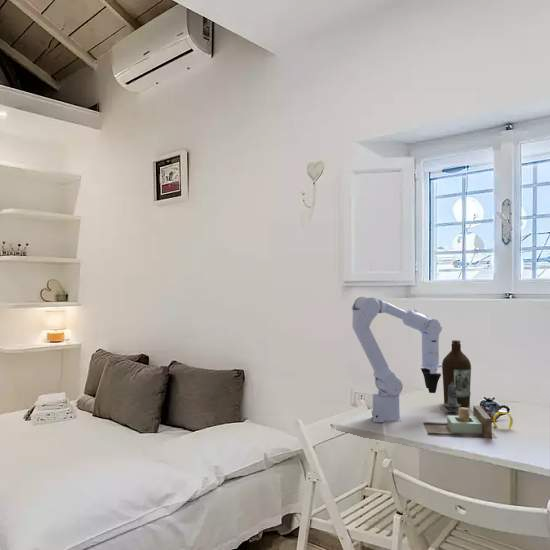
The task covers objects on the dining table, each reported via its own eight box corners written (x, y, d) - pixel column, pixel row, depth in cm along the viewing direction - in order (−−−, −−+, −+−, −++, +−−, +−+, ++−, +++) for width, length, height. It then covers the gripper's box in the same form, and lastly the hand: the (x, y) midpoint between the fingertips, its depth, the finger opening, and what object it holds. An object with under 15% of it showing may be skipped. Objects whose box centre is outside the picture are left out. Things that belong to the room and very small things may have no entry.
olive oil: (437, 403, 204) (436, 339, 204) (461, 401, 207) (460, 338, 207) (452, 409, 194) (451, 342, 194) (477, 407, 196) (476, 341, 196)
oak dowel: (459, 428, 165) (459, 409, 165) (458, 425, 168) (457, 407, 168) (470, 429, 164) (470, 410, 164) (468, 426, 168) (468, 407, 168)
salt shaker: (462, 417, 184) (461, 383, 184) (445, 416, 185) (444, 382, 185) (459, 412, 189) (459, 380, 189) (443, 412, 190) (442, 379, 191)
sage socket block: (452, 433, 163) (451, 423, 163) (447, 425, 171) (447, 415, 171) (482, 434, 161) (482, 424, 161) (475, 426, 170) (475, 416, 170)
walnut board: (428, 438, 160) (428, 416, 160) (422, 423, 176) (422, 404, 176) (497, 440, 157) (496, 418, 157) (484, 425, 173) (484, 405, 173)
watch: (510, 428, 170) (511, 410, 170) (513, 431, 168) (514, 412, 168) (491, 427, 171) (492, 409, 171) (494, 429, 168) (495, 411, 168)
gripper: (445, 355, 177) (445, 395, 177) (438, 349, 191) (439, 386, 191) (424, 355, 178) (424, 394, 178) (419, 349, 192) (419, 385, 192)
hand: (430, 390), depth 184 cm, fingers open, 7 cm apart
